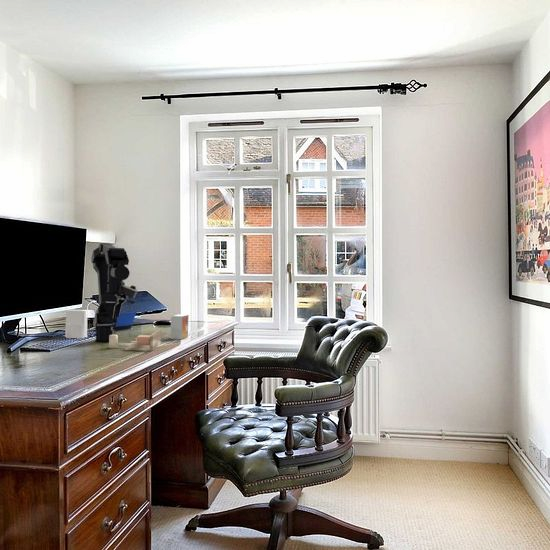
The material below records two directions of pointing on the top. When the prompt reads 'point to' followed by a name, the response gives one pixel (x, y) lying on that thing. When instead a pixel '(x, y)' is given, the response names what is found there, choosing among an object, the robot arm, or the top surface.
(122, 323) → the blue bin
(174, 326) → the small box
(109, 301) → the robot arm
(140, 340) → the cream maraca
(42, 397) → the top surface
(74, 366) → the top surface
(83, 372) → the top surface
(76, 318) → the white rectangular block
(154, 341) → the lane rack
